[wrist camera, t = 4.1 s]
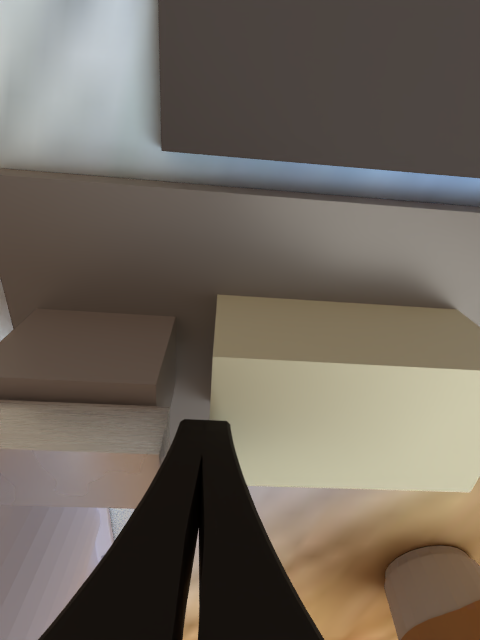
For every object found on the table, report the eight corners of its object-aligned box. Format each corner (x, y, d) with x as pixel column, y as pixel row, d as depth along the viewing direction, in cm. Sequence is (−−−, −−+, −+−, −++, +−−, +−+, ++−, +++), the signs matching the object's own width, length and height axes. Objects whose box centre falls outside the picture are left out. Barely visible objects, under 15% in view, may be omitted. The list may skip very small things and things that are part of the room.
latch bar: (170, 458, 11) (161, 509, 9) (-77, 450, 10) (-127, 501, 9) (169, 407, 10) (158, 454, 8) (-103, 395, 9) (-165, 443, 8)
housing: (481, 445, 19) (569, 554, 14) (58, 429, 18) (-7, 543, 13) (608, 217, 13) (827, 266, 8) (2, 168, 12) (-152, 193, 7)
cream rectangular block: (415, 410, 16) (470, 492, 12) (211, 401, 15) (205, 484, 12) (457, 309, 13) (539, 373, 10) (217, 294, 13) (212, 356, 9)
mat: (533, 181, 13) (550, 184, 12) (165, 149, 12) (161, 150, 11) (680, -157, 9) (719, -182, 8) (159, -235, 8) (152, -270, 7)
